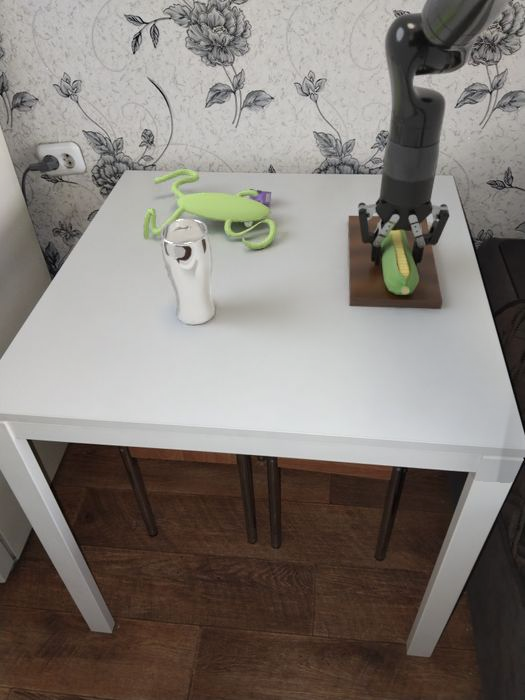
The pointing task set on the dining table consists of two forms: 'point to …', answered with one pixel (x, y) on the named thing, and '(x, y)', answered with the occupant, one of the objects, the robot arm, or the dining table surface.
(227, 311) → the dining table surface
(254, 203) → the figurine
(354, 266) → the serving board
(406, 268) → the edible corn
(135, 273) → the dining table surface
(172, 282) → the beer glass
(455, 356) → the dining table surface
